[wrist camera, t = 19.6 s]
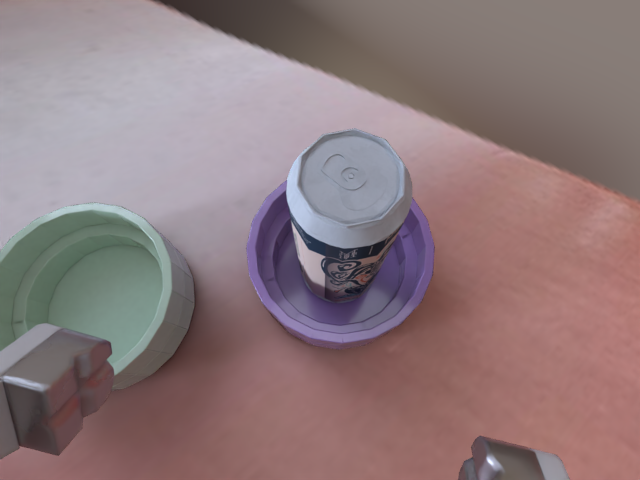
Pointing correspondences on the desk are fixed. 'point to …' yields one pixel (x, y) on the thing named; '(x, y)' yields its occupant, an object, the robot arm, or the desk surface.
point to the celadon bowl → (99, 285)
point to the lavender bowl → (327, 317)
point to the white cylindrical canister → (346, 211)
